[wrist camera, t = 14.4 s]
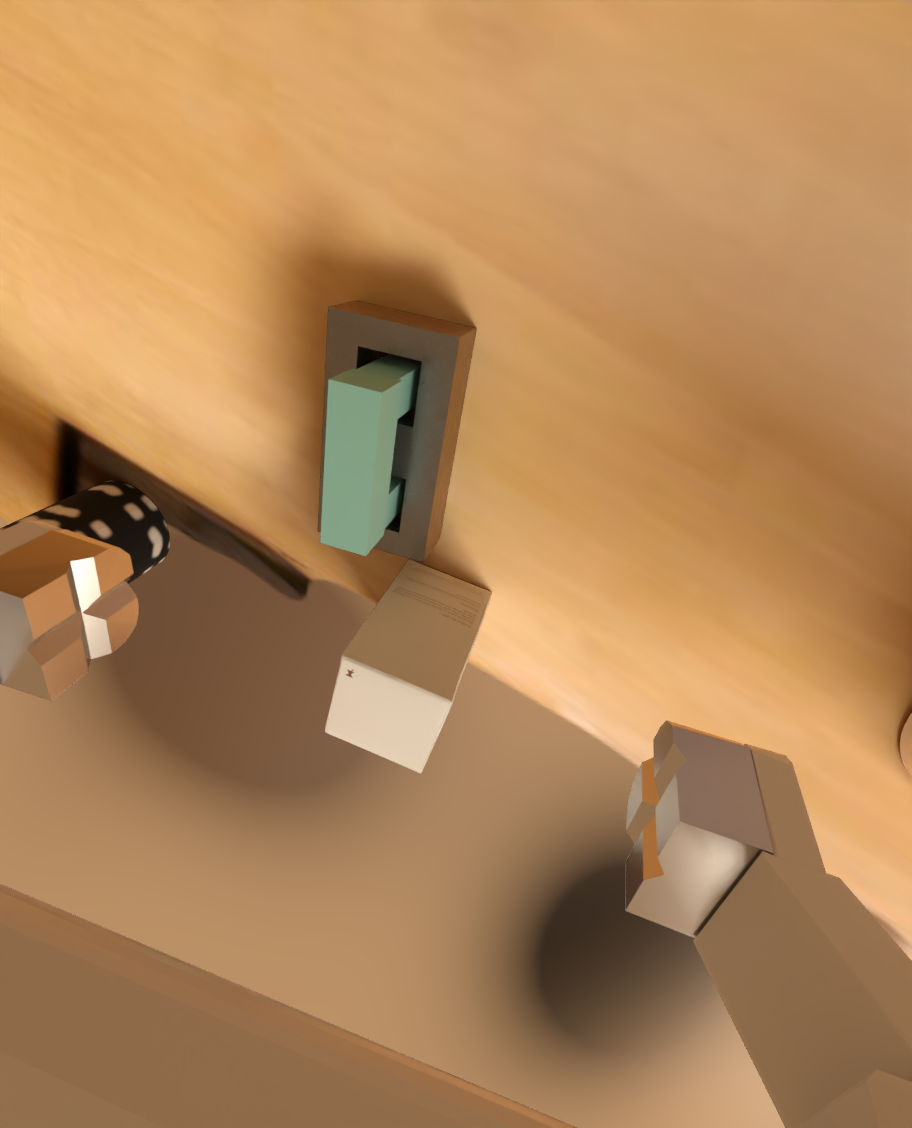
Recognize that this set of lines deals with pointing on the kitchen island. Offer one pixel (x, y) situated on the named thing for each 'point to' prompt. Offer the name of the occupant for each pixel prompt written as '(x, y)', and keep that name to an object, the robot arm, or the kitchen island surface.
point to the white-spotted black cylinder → (113, 521)
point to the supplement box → (407, 665)
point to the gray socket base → (423, 428)
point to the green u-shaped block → (364, 451)
